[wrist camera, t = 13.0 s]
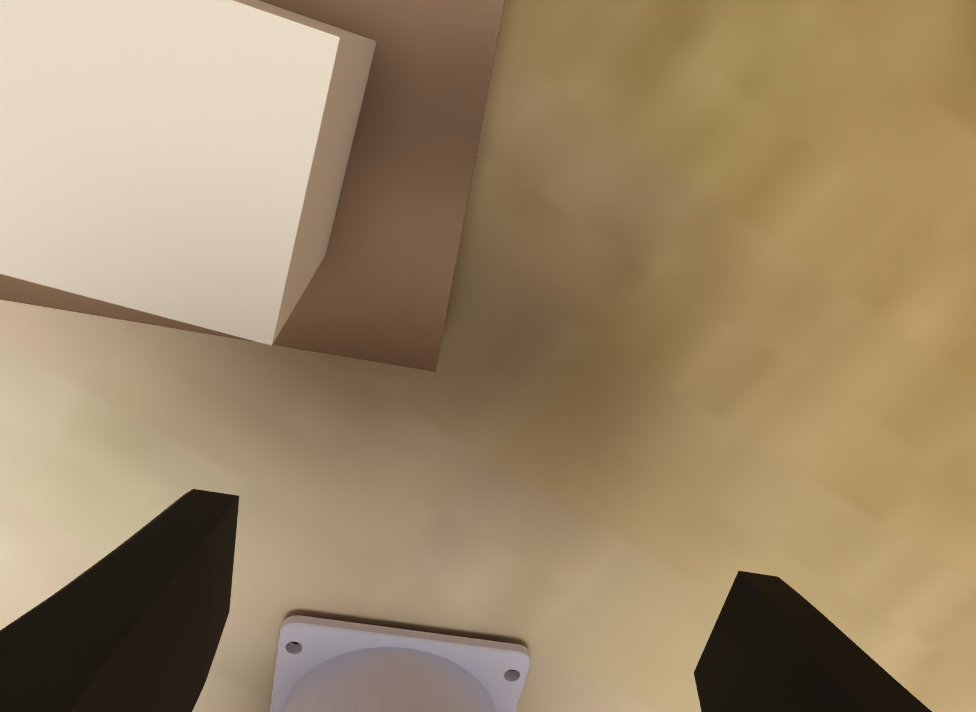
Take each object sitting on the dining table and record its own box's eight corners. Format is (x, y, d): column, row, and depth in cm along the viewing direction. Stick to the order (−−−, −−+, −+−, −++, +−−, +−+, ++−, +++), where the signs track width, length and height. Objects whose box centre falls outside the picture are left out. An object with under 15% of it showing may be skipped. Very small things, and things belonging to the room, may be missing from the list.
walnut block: (439, 325, 19) (435, 371, 16) (53, 258, 18) (-22, 295, 15) (517, -101, 15) (529, -135, 12) (30, -219, 14) (-75, -285, 11)
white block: (325, 255, 15) (271, 345, 10) (111, 193, 14) (-47, 261, 10) (376, 40, 13) (339, 37, 9) (139, -42, 13) (-37, -93, 8)
